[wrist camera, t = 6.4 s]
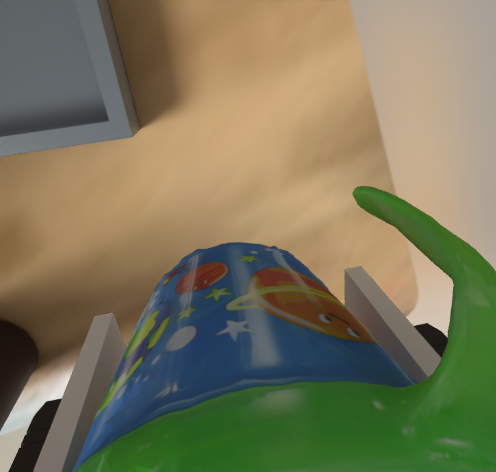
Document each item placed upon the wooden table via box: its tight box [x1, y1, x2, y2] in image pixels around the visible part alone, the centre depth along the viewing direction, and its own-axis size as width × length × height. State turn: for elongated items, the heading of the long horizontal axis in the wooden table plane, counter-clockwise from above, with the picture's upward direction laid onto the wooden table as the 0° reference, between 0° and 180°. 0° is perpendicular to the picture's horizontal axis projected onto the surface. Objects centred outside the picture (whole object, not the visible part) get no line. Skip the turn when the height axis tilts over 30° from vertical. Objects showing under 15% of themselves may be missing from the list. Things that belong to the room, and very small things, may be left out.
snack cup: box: [72, 186, 496, 472], centre depth 11 cm, size 16×10×10 cm
